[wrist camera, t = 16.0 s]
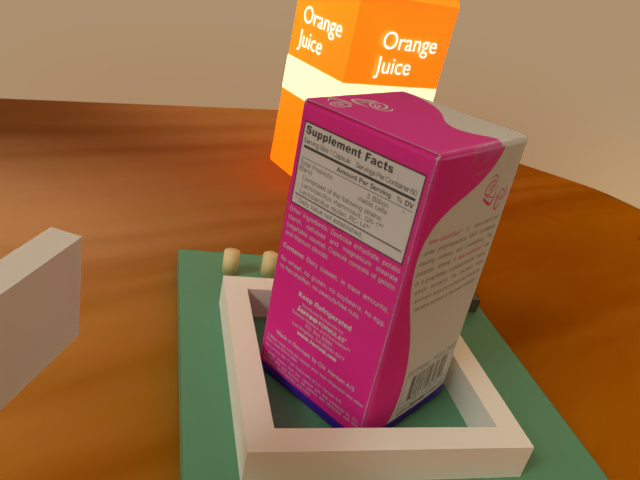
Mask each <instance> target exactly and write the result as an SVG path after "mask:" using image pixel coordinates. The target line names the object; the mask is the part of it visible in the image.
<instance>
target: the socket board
mask: <svg viewBox="0 0 640 480" xmlns="http://www.w3.org/2000/svg"><path fill="white" fill-rule="evenodd" d="M277 258H278V253H276V252H274V251H265V252H264V254H263V255H252V254H240V251H239V250H238V249H235V248H226V249H225V250H224V252H212V251H199V250H185V249H179V250H178V259H177V313H178V381H179V449H180V480H609V479H608V478H607V476H606V475H605V474H604V472H603V471H602V470H601V468H600V467H599V466H598V464H597V463H596V462H595V460H594V459H593V458H592V456H591V455H590V454H589V452H588V451H587V450H586V448H585V447H584V446H583V444H582V443H581V442H580V440H579V439H578V438H577V436H576V435H575V434H574V432H573V431H572V430H571V428H570V427H569V426H568V424H567V423H566V422H565V420H564V419H563V418H562V416H561V415H560V414H559V412H558V411H557V410H556V408H555V407H554V406H553V404H552V403H551V402H550V400H549V399H548V398H547V396H546V395H545V394H544V392H543V391H542V390H541V388H540V387H539V386H538V384H537V383H536V382H535V380H534V379H533V378H532V376H531V375H530V374H529V372H528V371H527V370H526V368H525V367H524V366H523V364H522V363H521V362H520V360H519V359H518V358H517V356H516V355H515V354H514V352H513V351H512V350H511V348H510V347H509V346H508V344H507V343H506V342H505V340H504V339H503V338H502V336H501V335H500V334H499V332H498V331H497V330H496V328H495V327H494V326H493V324H492V323H491V322H490V320H489V319H488V318H487V317H486V315H485V314H484V313H483V311H482V310H481V309H480V307H479V306H478V305H479V303H480V299H479V298H478V296H477V295H476V294H475V292H474V295H473V298H472V301H471V304H470V307H469V310H468V312H467V315H466V318H465V321H464V324H463V327H462V330H461V333H460V335H459V338H458V341H457V344H456V347H455V350H454V353H453V356H452V359H451V362H450V365H449V368H448V371H447V374H446V377H445V380H444V383H443V388H442V391H441V393H439V394H438V395H437V396H435V397H434V398H432V399H431V400H429V401H428V402H427V403H425V404H424V405H423V406H421V407H420V408H418V409H417V410H415V411H414V412H413V413H411V414H410V415H409V416H407V417H406V418H404V419H403V420H402V421H400V422H399V423H397V424H396V425H395V426H393V427H392V428H332V427H331V426H329V425H328V424H327V423H326V422H325V421H324V420H322V419H321V418H320V417H319V416H318V415H317V414H316V413H314V412H313V411H312V410H311V409H310V408H309V407H307V406H306V405H305V404H304V403H303V402H302V401H300V400H299V399H298V398H297V397H296V396H295V395H293V394H292V393H291V392H290V391H289V390H288V389H286V388H285V387H284V386H283V385H282V384H280V383H279V382H278V381H277V380H276V379H275V378H273V377H272V376H271V375H270V374H269V373H268V372H266V371H265V370H264V369H263V367H262V362H261V357H260V355H261V349H262V343H263V337H264V332H265V326H266V320H267V314H268V309H269V303H270V298H271V292H272V286H273V280H274V275H275V269H276V263H277Z"/></svg>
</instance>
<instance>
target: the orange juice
mask: <svg viewBox="0 0 640 480" xmlns="http://www.w3.org/2000/svg"><path fill="white" fill-rule="evenodd" d="M459 9H460V6H459V0H298V3H297V9H296V15H295V20H294V26H293V32H292V37H291V43H290V48H289V54H288V56H287V62H286V67H285V73H284V78H283V84H282V87H283V88H282V94H281V99H280V105H279V110H278V116H277V122H276V127H275V133H274V139H273V144H272V150H271V156H270V159H271V160H272V161H273V162H274V163H276V164H277V165H278V166H279V167H281V168H282V169H283V170H284V171H285V172H287V173H288V174H289V175H290V176H291V177H292V171H293V165H294V159H295V154H296V148H297V143H298V137H299V131H300V126H301V119H302V113H303V107H304V102H305V99H307V98H317V97H331V96H343V95H358V94H372V93H385V92H400V91H404V92H407V93H410V94H413V95H416V96H418V97H421V98H424V99H427V100H429V101H432V102H433V99H434V96H435V92H436V86H437V83H438V79H439V76H440V72H441V69H442V66H443V62H444V59H445V55H446V51H447V48H448V45H449V41H450V38H451V34H452V31H453V28H454V24H455V21H456V17H457V14H458V11H459Z"/></svg>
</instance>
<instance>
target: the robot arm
mask: <svg viewBox="0 0 640 480" xmlns="http://www.w3.org/2000/svg"><path fill="white" fill-rule="evenodd" d="M81 257H82V236H79V235H75V234H72V233H69V232H66V231H62V230H59V229H56V228H52V227H50V228H49V229H47V230H46V231H44V232H43V233H41V234H39V235H38V236H36V237H35V238H33V239H32V240H30V241H28V242H27V243H25V244H24V245H22V246H21V247H19V248H17V249H16V250H14V251H13V252H11V253H9V254H8V255H6V256H5V257H3V258H2V259H0V411H1V410H2V409H3V408H4V407H5V406H6V405H7V404H8V403H9V402H10V401H11V400H12V399H13V398H14V397H15V396H16V395H17V394H18V393H19V392H20V391H22V390H23V389H24V388H25V387H26V386H27V385H28V384H29V383H30V382H31V381H32V380H33V379H34V378H35V377H36V376H37V375H38V374H39V373H40V372H41V371H42V370H43V369H44V368H45V367H47V366H48V365H49V364H50V363H51V362H52V361H53V360H54V359H55V358H56V357H57V356H58V355H59V354H60V353H61V352H62V351H63V350H64V349H65V348H66V347H67V346H68V345H69V344H71V343H72V342H73V341H74V340H75V339H76V338H77V337H78V336H79V315H80V286H81Z"/></svg>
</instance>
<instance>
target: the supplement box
mask: <svg viewBox="0 0 640 480" xmlns="http://www.w3.org/2000/svg"><path fill="white" fill-rule="evenodd" d="M526 143H527V137H526V136H525V135H524V134H521V133H519V132H516V131H513V130H510V129H507V128H504V127H501V126H498V125H495V124H492V123H489V122H487V121H484V120H480V119H478V118H474V117H472V116H469V115H466V114H463V113H460V112H458V111H455V110H453V109H450V108H447V107H444V106H442V105H439V104H437V103H434V102H432V101H429V100H427V99H424V98H421V97H418V96H416V95H413V94H410V93H407V92H404V91H400V92H385V93H372V94H358V95H343V96H331V97H317V98H307V99H305V102H304V107H303V113H302V119H301V126H300V131H299V137H298V143H297V148H296V154H295V159H294V165H293V171H292V177H291V183H290V189H289V193H288V199H287V206H286V211H285V217H284V224H283V229H282V235H281V241H280V246H279V252H278V258H277V263H276V269H275V275H274V280H273V286H272V292H271V298H270V303H269V309H268V314H267V320H266V326H265V332H264V337H263V343H262V349H261V355H260V357H261V362H262V367H263V369H264V370H265V371H266V372H268V373H269V374H270V375H271V376H272V377H273V378H275V379H276V380H277V381H278V382H279V383H280V384H282V385H283V386H284V387H285V388H286V389H288V390H289V391H290V392H291V393H292V394H293V395H295V396H296V397H297V398H298V399H299V400H300V401H302V402H303V403H304V404H305V405H306V406H307V407H309V408H310V409H311V410H312V411H313V412H314V413H316V414H317V415H318V416H319V417H320V418H321V419H322V420H324V421H325V422H326V423H327V424H328V425H329V426H331V427H332V428H392V427H393V426H395V425H396V424H397V423H399V422H400V421H402V420H403V419H404V418H406V417H407V416H409V415H410V414H411V413H413V412H414V411H415V410H417V409H418V408H420V407H421V406H423V405H424V404H425V403H427V402H428V401H429V400H431V399H432V398H434V397H435V396H437V395H438V394H439V393H441V391H442V388H443V383H444V380H445V377H446V374H447V371H448V368H449V365H450V362H451V359H452V356H453V353H454V350H455V347H456V344H457V341H458V338H459V335H460V333H461V330H462V327H463V324H464V321H465V318H466V315H467V312H468V310H469V307H470V304H471V301H472V298H473V295H474V292H475V290H476V287H477V284H478V281H479V278H480V275H481V272H482V269H483V267H484V264H485V261H486V258H487V255H488V253H489V250H490V247H491V244H492V241H493V238H494V235H495V232H496V230H497V226H498V223H499V220H500V217H501V214H502V211H503V209H504V206H505V203H506V200H507V197H508V194H509V191H510V189H511V186H512V183H513V180H514V177H515V174H516V171H517V168H518V165H519V162H520V159H521V157H522V154H523V151H524V148H525V145H526Z"/></svg>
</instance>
